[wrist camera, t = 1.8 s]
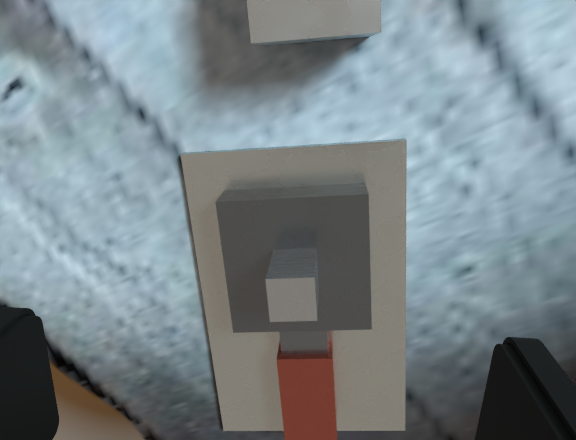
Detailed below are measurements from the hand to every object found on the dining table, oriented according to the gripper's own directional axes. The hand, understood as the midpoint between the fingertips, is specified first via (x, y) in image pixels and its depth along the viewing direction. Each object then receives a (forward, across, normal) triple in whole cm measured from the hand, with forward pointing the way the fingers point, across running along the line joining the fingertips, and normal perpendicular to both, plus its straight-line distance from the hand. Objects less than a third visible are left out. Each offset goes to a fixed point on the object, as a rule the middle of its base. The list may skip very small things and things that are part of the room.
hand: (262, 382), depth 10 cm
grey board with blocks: (+21, 0, +10) cm, 23 cm away
